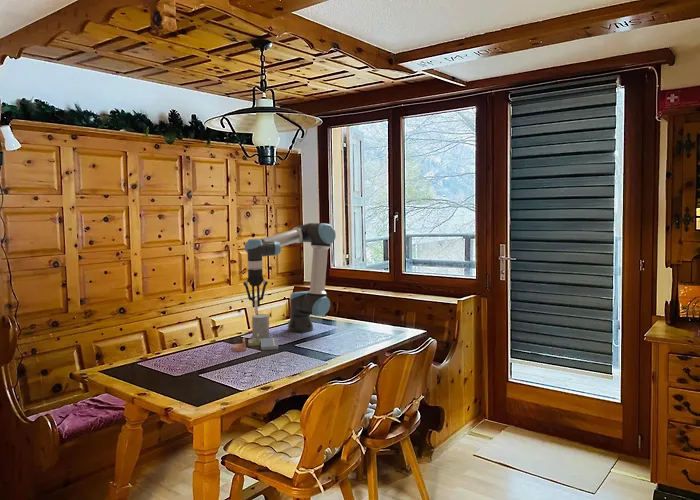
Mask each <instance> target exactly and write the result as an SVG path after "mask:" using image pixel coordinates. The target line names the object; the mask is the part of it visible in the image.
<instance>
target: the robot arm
mask: <svg viewBox="0 0 700 500" xmlns="http://www.w3.org/2000/svg"><path fill="white" fill-rule="evenodd" d="M335 240H336V230H335V228H334V227H333V226H332V224H330V223H325V222H324V223H323V222H310V223H309V222H308V223H304V224H301V225H299V226H295V227H293V228H292V229H291V230H287V231H283V232H281V233H280V232H279V233H277V234H273V235H270V236H266V237H263V238H250V239H247V241H246V242H245V243H244V251H245V253H247V255H246V256H247V279H246V280H245V281H243V283H242V284H243V285H244V287H245V290H246V293H247V297H248V300H249V301H251V303H252V308H254V315H257V314H258V312H259V311H258V310H259V308H260V306H261V302H260V301H262V300H264V296H265V291H266V287H267V285H268V283H269V282H268V280H265V279H264V277H263V275H264V274H263V273H264V272H263V271H264V270H263V258H264V257H273V256H278V255H280V253H281V251H282V247H284V246H288V245H292V244H295V243H296V244H301V243H310V247H311V248H312V258H311V259H312V261H311V273H310V285H309V286H310V287H309V290H305V291H295V292H291V294H290V299H289V301H290V302H289V303H290V306H289V307H290V318H289V322H288V325H287V331H289V332H292V333H307V332H311V331H313V330H314V325H313V321H312V319H311V316H314V317H324V316H325V315H327V313H328V312H329V310H330V309H331V301H330V298H328V297H327V296H328V293H327V291H326V290H325V289H326V278H327V275H326V274H327V265H328V250H329V249H330V248H331V247H332V246H331V245H332V244H333V243H334V242H335ZM262 283H263V284H262ZM248 285H249V286H251V293H250V290H249V286H248ZM261 285H263V286H262V288H261V289H262V290H261V294H260V286H261ZM255 287H256V295H255ZM251 295H252V296H251ZM256 296H257V297H256ZM255 297H256V298H255ZM256 299H257V300H256Z"/></svg>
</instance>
